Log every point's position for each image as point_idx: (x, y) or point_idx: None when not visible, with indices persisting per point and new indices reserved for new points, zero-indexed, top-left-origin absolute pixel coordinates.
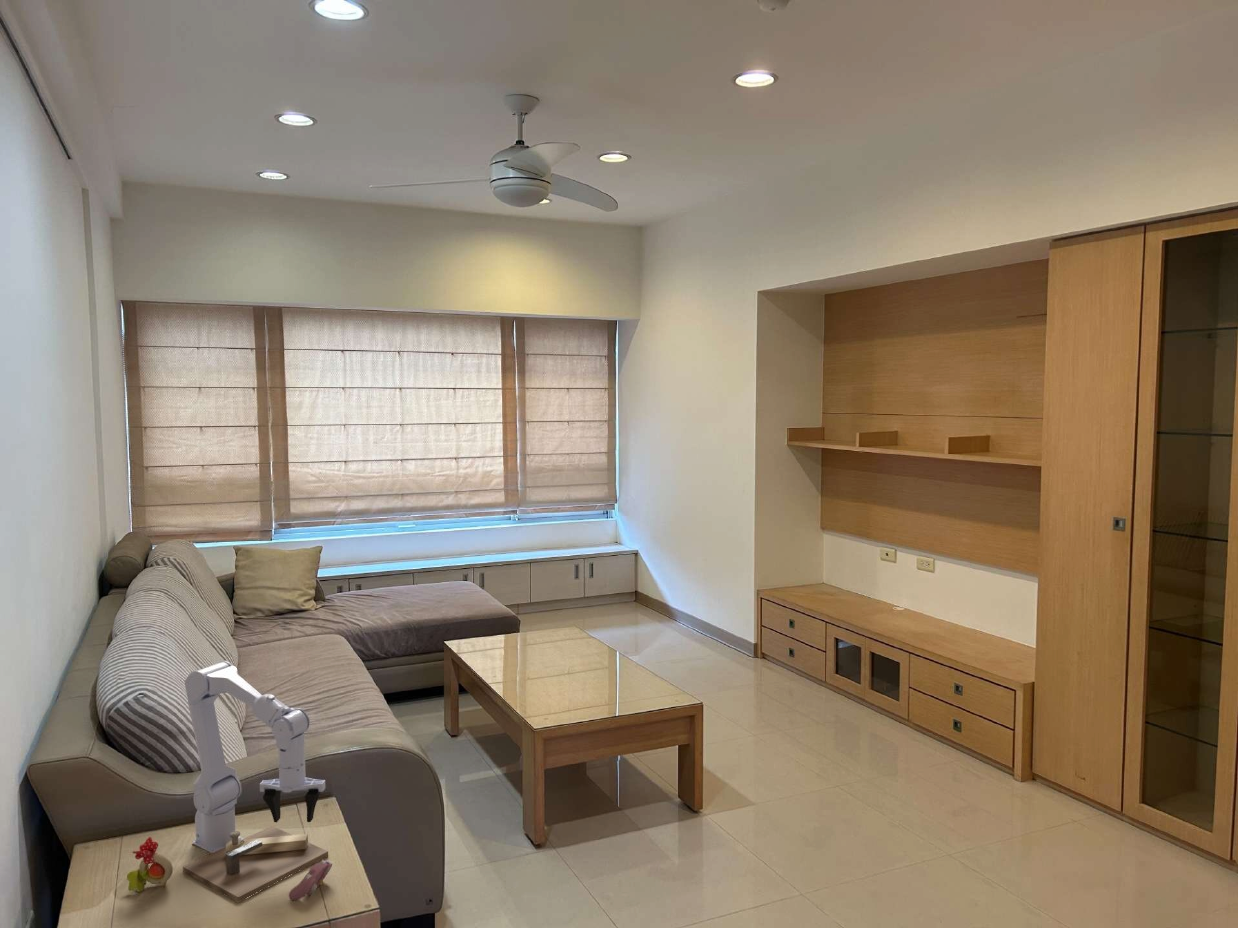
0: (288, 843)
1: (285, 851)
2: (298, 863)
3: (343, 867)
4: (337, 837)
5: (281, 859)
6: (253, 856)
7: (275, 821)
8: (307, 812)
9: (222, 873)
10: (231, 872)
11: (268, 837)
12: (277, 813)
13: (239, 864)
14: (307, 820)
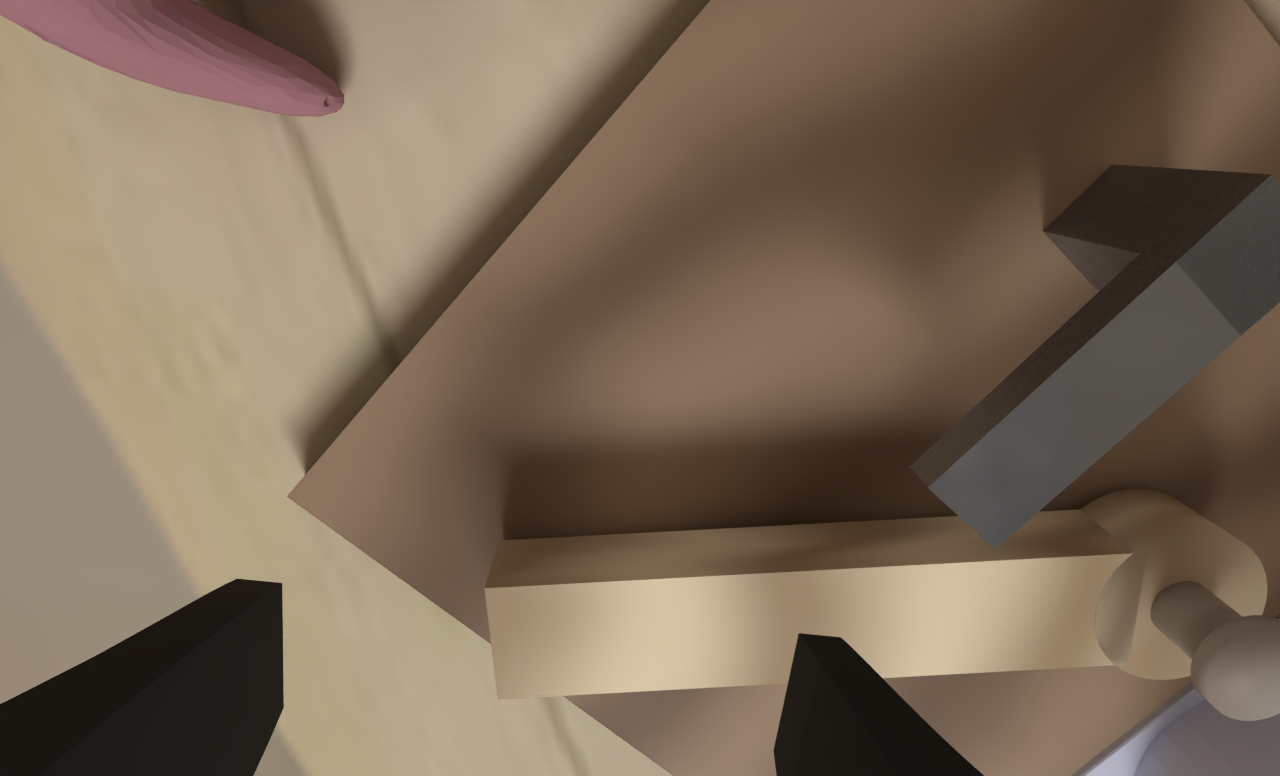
0: (655, 566)
1: None
2: (508, 313)
3: (90, 262)
4: (324, 747)
5: (690, 408)
6: None
7: (825, 637)
8: (151, 670)
9: None
10: (1132, 167)
11: None
12: (825, 766)
13: (1085, 239)
14: (260, 588)
